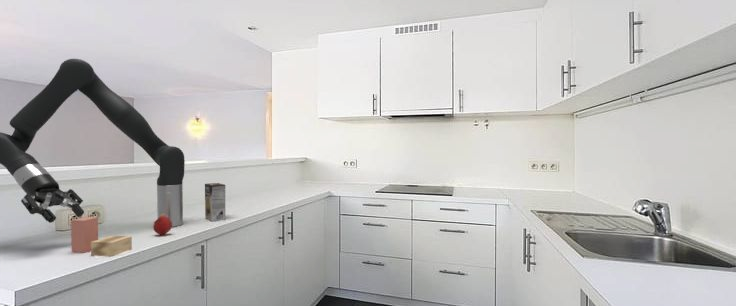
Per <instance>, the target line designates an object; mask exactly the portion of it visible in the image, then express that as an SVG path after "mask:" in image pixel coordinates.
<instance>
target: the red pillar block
mask: <svg viewBox="0 0 736 306" xmlns="http://www.w3.org/2000/svg"><path fill="white" fill-rule="evenodd" d="M70 228H71V229H70V232H71V233H70V236H71V240H70V241H71V246H70V247H71V253H73V254H74V253H75V254H76V253H77V254H86V253H89V252H91V242H92V241H96V240H99V218H98V217H95V216H94V217H90V216H89V217H87V216H85V217H79V218H75V219H72V220H70Z"/></svg>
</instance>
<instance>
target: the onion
mask: <svg viewBox="0 0 736 306" xmlns="http://www.w3.org/2000/svg"><path fill="white" fill-rule="evenodd" d="M172 228H173V227H172V223H171V221H170V219H169V218H167V217H165V214H162V215H161V216H160V217H159V218H158V219H156V220H155V221H154V223H153V230H154V232H155V233H156V234H158V235H160V236H166V235H167V233H169V232H170V231H171V229H172Z"/></svg>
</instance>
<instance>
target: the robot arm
mask: <svg viewBox="0 0 736 306" xmlns="http://www.w3.org/2000/svg"><path fill="white" fill-rule="evenodd" d="M77 91H79V92H81V94H83V95H84V96H86V98H88V99H89V100H90V101H92V103H93V104H94V105H95V106H96V107H97V109H98V111H100V112H101V113H102V114H103V115H104V116H105V117H106V118H107V120H108V121H110V122H111V123H112V124H113V125H114V126H115V127H116V128H118V130H120V131H121V132H122V133H123V134H125V135H126V136H127V137H128V138H129V139H131V140H132V141H133V142H134V143H135V144H137V145H138V146H139V147H140V148H141V149H143V150H144V151H145V152H146V153H147V155H148V156H149V157H150V158H151V159H152V160H153V161H154V163H156V165H158V166H159V175H158V176H157V178H156V198H157V203H156V207H157V210H156V211H157V212H156V213H157V215H156V217H157V219H158V218H159V217H160V216H161V215H162V214H165V217H167V218H169V219H170V221H171V223H172V228H173V227H179V226H182V225H183V224H184V199H183V198H184V196H183V195H184V192H183V190H184V187H183V183H184V182H183V180H184V177H185V154H184V152H183V151H182V149H181V148H179V147H177V146H174V145H173V146H171V145H168V144H167V143H165V141H164V140H162V139H161V138H159V136H158V135H157V134H156V133H155V132H154V131H153V129H152V126H151V125H150V124H149V122H148V121H147V120H146V118H145V117H144V116H143V115H142V114H141V113H140V112H139V111H138V110H137V109H136V108H135V106H133V105H132V104H130V103H129V102H128V101H126V100H125V99H124V98H123V97H121V96H120V95H118V94H117V93H116V92H115V91H113V90H111V88H109V87H108V85H106V84H105V82H104V81H103V80H102V79H101V78H100V77H99V76H98V75H97V74H96V72H95V70H94V68H93V67H92V65H91V64H90V63H89V62H87V61H85V60H83V59H81V58H80V59H79V58H69V59H66V60H64V61H63V62H62V63H60V65H59V69H58V70H57V72H56V73H55V74H54V77H53V78H52V79H51V80H50V82H49V83H48V84H47V85H46V86H45V87H44V88H43V89H42V90H41V91H39V93H38V94H37V95H36V96H34V97H33V98H32V99H31V100H30V101H28V103H27V104H25V106H23V107H22V108H21V109H20V110H19V111H18V112H17V113H16V114H15V115H14V116H13V117H12V118H11V119H10V121H9V126H11V128H13V129H14V130H13V133H12V134H11V135H10V134H7V133H4V132H1V131H0V164H1V166H3V167H4V168H5V169H6V170H7V172H8V173H10V175H11V176H12V178H14V180H15V181H16V183H17V185H18V186H20V188H21V189H22V190H23V192H25V195H24V196H23V197H22V199H21V200H20V201H21V204H22V205H23V206H24V208H25V209H26V210H27V211H28V212H29V214H30V215H35V214H38V215H41V217H42V218H43V219H44V220H45V221H46V222H48V223H54V221H56V219H57V216H56V215H55V214H54V213H53V212H52V211H51V209H50V208H51V207H53V206H54V207H55V206H61V207H64V208H65V207H66V208H68V209H71V212H73V214H75V215H76V216H77V218H82V216H83V215H84V214H85V211H84V209H83V207H81V206H80V205H81V204H82V203H83V202H84V200H83V199H82V198H81V197H80V196H79V195H78V194H77V193H76V192H75V191H74V190H73V189H70V188H69V189H68V190H67V191H63V190H62V189H60V185H59V183H58V182H57V181H56V180H55V178H54V177H53V176H52V174H50V173H49V172H48V170H47V169H46V168H45V167H43V166H42V165H41V163H40V162H39V161H38V160H36V158H35V157H34V156H33V155H31V154H29V153H27V151H28V150H29V148H30V146H31V144H32V142H33V141H34V139H35V138H36V137H35V136H36V134H37V132H38V131H39V130H41V129H42V127H43V126H44V125H45V124H46V123H47V122H48V121H50V119H51V118H52V117H53V116H54V114H56V112H57V111H58V110H59V109H60V107H61V106H62V105H63V104H64V102H66V101H67V100H68V98H70V97H71V96H72V95H73V94H74V93H76V92H77ZM65 200H66V201H65ZM64 201H65V202H64ZM157 219H156V220H157Z"/></svg>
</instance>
